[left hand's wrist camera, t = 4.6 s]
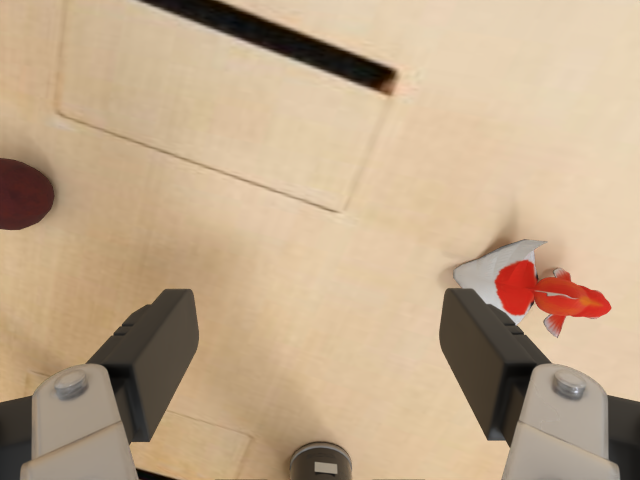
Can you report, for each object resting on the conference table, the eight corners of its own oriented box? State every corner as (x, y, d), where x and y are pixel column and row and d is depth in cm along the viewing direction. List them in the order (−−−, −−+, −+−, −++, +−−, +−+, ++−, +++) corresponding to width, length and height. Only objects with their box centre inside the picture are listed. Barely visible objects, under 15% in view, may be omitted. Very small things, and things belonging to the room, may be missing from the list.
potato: (-15, 158, 38) (-85, 168, 32) (54, 149, 38) (-2, 158, 31) (14, 222, 41) (-46, 244, 34) (78, 215, 40) (31, 235, 34)
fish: (554, 367, 42) (598, 387, 32) (433, 298, 46) (441, 298, 37) (598, 289, 42) (655, 286, 33) (474, 227, 47) (493, 209, 37)
